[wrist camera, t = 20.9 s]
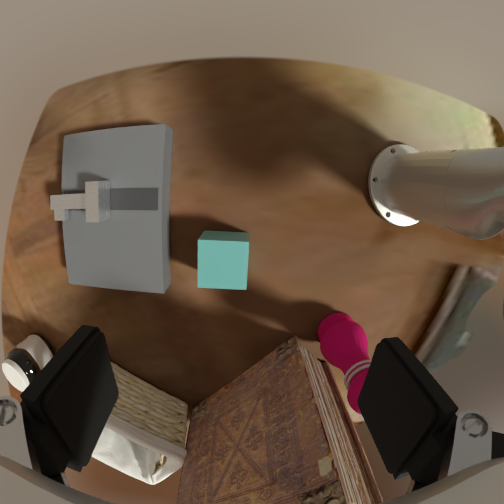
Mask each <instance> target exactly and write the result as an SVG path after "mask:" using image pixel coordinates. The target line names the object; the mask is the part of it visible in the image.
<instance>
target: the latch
mask: <svg viewBox="0 0 504 504" xmlns="http://www.w3.org/2000/svg"><path fill="white" fill-rule="evenodd" d="M50 203H51V210H54V214H55V221H65V220H69V214H68V209H85V210H86V222H101V221H104V220H107V219H110V180H108V181H90V182H85V193H72V194H56V195H50Z"/></svg>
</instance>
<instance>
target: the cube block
mask: <svg viewBox="0 0 504 504" xmlns="http://www.w3.org/2000/svg"><path fill="white" fill-rule="evenodd" d="M248 253H249V237H248V232H227V231H204V232H203V233H202V235H201V236H200V237H199V239H198V287H199V288H217V289H238V290H246V289H247V271H248Z"/></svg>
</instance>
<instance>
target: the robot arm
mask: <svg viewBox="0 0 504 504" xmlns="http://www.w3.org/2000/svg"><path fill="white" fill-rule="evenodd" d="M373 178H374V181H373ZM368 190H369V195H370V199H371V201H372V204H373V206H374V208H375V209H376V211H377V212H378V213H379V215H380V216H381V217H382V218H383V219H385V220H386V221H388V222H390V223H392V224H394V225H397V226H411V225H413V224H416V223H417V222H419V221H420V222H424V223H427V224H430V225H433V226H437V227H440V228H443V229H446V230H449V231H452V232H455V233H458V234H461V235H464V236H467V237H470V238H473V239H487V238H491V237H493V236H495V235H497V234H498V233H500V232H501V231H502V230H503V229H504V147H499V148H484V149H465V150H446V151H431V152H420V151H418V150H417V149H415V148H414V147H411V146H409V145H404V144H397V145H392V146H389V147H387V148H385V149H383V150H382V151H381V152H379V153H378V155H377V156H376V157H375V159H374V161H373V163H372V165H371V168H370V171H369V177H368ZM386 213H387V214H386ZM503 320H504V301H503ZM20 396H21V398H22V401H21V403H19V402H18V401H17V400H16V399H15V398H13V397H10V396H1V397H0V504H114V503H111V502H108V501H104V500H102V499H99V498H96V497H93V496H90V495H88V494H85V493H83V492H80V491H77V490H75V489H73V488H70V485H69V483H68V480H67V478H66V475H65V472H64V471H65V469H66V467H68V468H71V469H73V470H76V471H78V472H80V471H81V469H82V467H83V466H86V465H87V464H88V463H89V460H90V458H91V456H92V453H93V451H94V449H95V447H96V444H97V442H98V440H99V438H100V435H101V433H102V431H103V429H104V427H105V425H106V422H107V420H108V418H109V416H110V414H111V412H112V410H113V408H114V406H115V403H116V401H117V399H118V396H119V390H118V387H117V383H116V380H115V376H114V373H113V369H112V365H111V361H110V357H109V353H108V349H107V345H106V340H105V336H104V334H103V333H102V332H100V329H99V328H98V327H93V326H87V325H82V326H81V327H80V328H79V329H78V330H77V331H76V332H75V333H74V334H73V336H72V337H71V338H70V339H69V340H68V341H67V342H66V343H65V344H64V345H63V346H62V347H61V348H60V350H59V351H58V352H57V353H56V354H55V355H54V356H53V357H52V358H51V360H50V361H49V362H48V363H47V364H46V365H45V366H44V368H43V369H42V370H41V371H40V372H39V373H38V375H37V376H36V377H35V378H34V379H33V380H32V382H31V383H30V384H29V385H28V386H27V388H26V389H25V390H24V391H23V393H22V394H21V395H20ZM358 407H359V409H360V411H361V414H362V416H363V418H364V420H365V422H366V424H367V426H368V429H369V431H370V433H371V435H372V437H373V439H374V442H375V444H376V446H377V448H378V451H379V453H380V455H381V457H382V460H383V462H384V464H385V466H386V469H387V471H388V472H389V473H391V474H393V476H394V479H399V478H401V477H404V476H407V475H409V474H410V476H411V478H412V479H411V481H410V484H409V487H408V489H407V492H406V494H405V495H402V496H400V497H397V498H394V499H392V500H388V501H385V502H382V503H379V504H504V434H502V433H497V432H493V431H492V427H491V422H490V421H489V419H488V418H487V417H486V416H485V415H484V414H483V413H481V412H479V411H476V410H466V411H463V412H462V413H460V415H459V416H458V417H457V416H456V414H455V413H456V412H457V410H458V407H457V406H456V404H455V403H454V402H453V401H452V399H451V398H450V397H449V396H448V394H446V392H445V391H444V390H443V389H442V387H441V386H440V385H439V384H438V383H437V381H436V380H435V379H434V378H433V376H432V375H431V374H430V373H429V372H428V370H427V369H426V368H425V367H424V366H423V365H422V363H421V362H420V361H419V360H418V359H417V358H416V357H415V355H414V354H413V353H412V352H411V351H410V350H409V349H408V347H407V346H406V345H405V344H404V343H403V342H402V341H401V340H400V339H399V338H398V337H393V338H384V339H382V340H381V342H380V343H378V344H377V346H376V348H375V352H374V355H373V358H372V361H371V364H370V367H369V370H368V372H367V375H366V378H365V381H364V383H363V386H362V389H361V391H360V394H359V396H358Z"/></svg>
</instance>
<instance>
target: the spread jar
mask: <svg viewBox="0 0 504 504" xmlns="http://www.w3.org/2000/svg"><path fill="white" fill-rule="evenodd" d="M53 356H54V353H53V351H52V349H51V347H50V345H49V344H48V342H47V341H46V340H45V339H44V338H43V337H42V336H40V335H38V334H31V335H29V336H27V337H26V338H25V339H23V340H22V341H21V342H20V343H19V344H18V345H16V346H15V347H14V348H13V349H12V350H11V351H10V352H9V353H8V355H7V358H6V360H5V361H4V362H3V364H2V370H3V372H4V374H5V376H6V378H7V379H8V381H9V382H10V383H11V384H12V385H13V386H14V387H15V388H16V389H18V390H20V391H22V392H23V391H24V390H25V389H26V388H27V386H28V385H29V384H30V383H31V382H32V380H33V379H34V378H35V377H36V376H37V375H38V373H39V372H40V371H41V370H42V369H43V368H44V366H45V365H46V364H47V363H48V362H49V361H50V360H51V358H52V357H53Z"/></svg>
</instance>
